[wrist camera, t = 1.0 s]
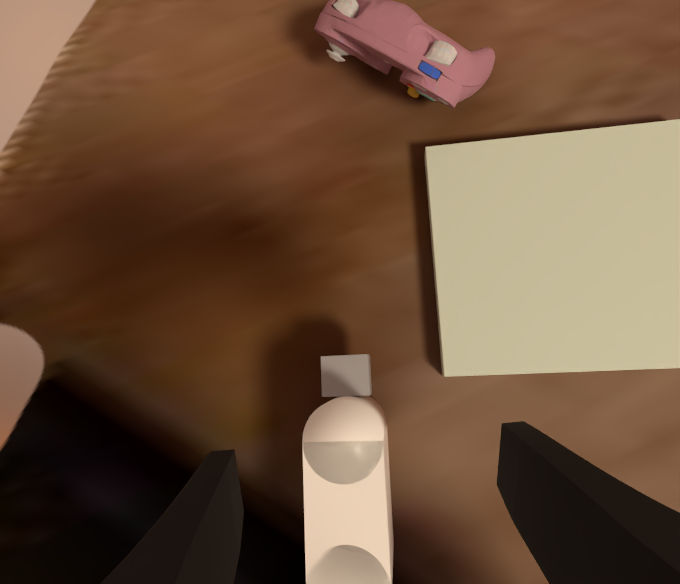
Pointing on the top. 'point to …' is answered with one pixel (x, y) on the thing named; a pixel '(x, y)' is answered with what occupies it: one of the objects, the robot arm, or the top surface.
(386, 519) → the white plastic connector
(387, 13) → the pink toy car
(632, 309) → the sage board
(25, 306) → the top surface
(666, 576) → the robot arm
